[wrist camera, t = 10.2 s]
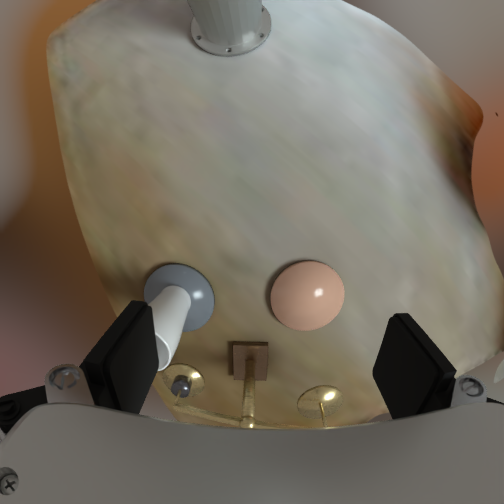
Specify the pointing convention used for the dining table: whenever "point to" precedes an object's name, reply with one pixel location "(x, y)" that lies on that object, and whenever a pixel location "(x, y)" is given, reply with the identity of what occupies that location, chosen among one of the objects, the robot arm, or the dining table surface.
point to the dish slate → (188, 281)
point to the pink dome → (307, 295)
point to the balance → (248, 389)
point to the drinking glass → (169, 321)
